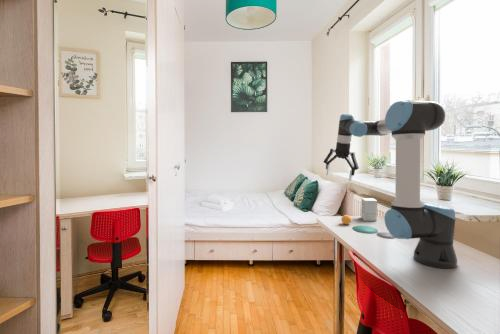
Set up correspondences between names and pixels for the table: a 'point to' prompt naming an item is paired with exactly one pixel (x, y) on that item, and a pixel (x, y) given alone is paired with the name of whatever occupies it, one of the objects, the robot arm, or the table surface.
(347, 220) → the ball
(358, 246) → the table surface
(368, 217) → the supplement box
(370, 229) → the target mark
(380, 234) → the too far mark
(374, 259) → the table surface
